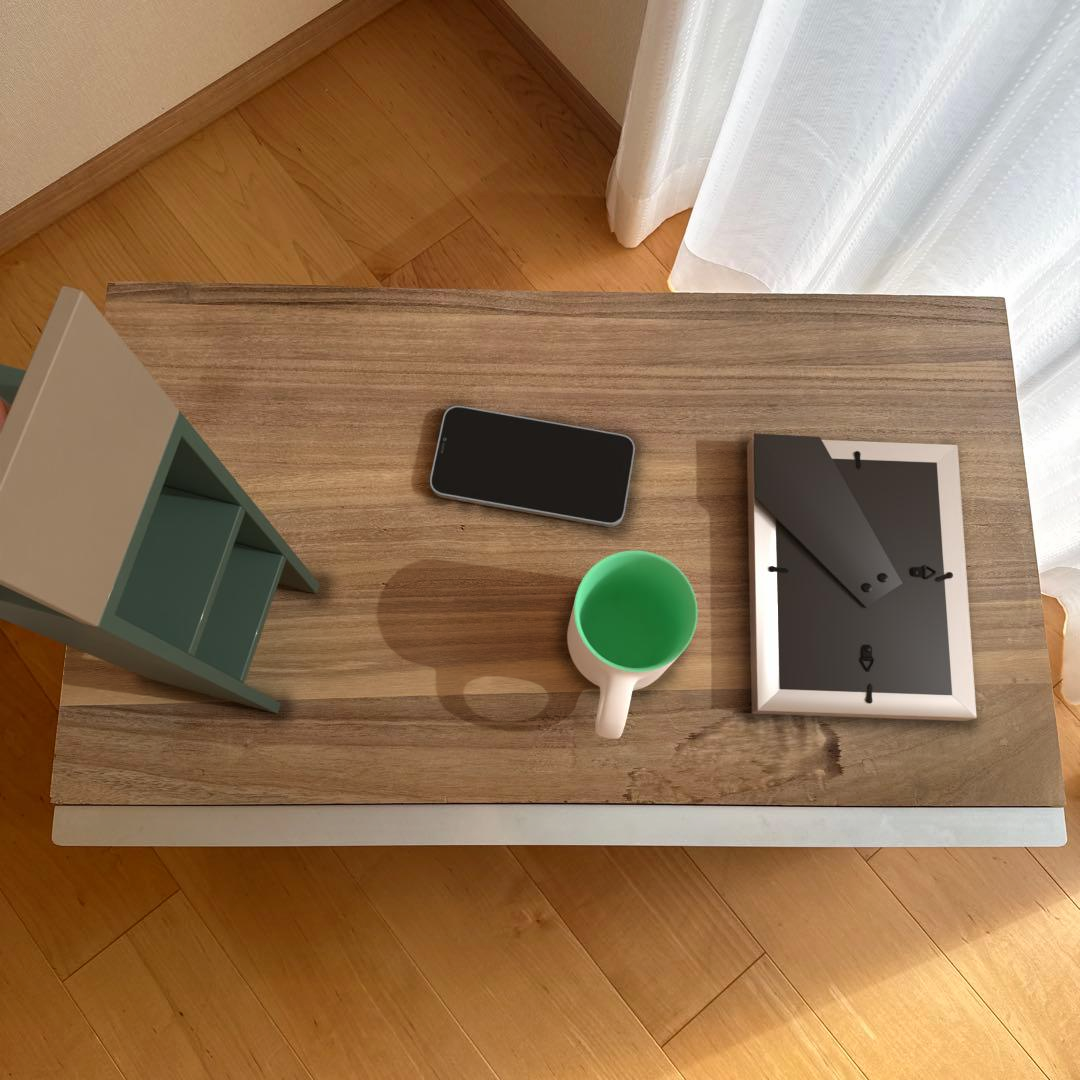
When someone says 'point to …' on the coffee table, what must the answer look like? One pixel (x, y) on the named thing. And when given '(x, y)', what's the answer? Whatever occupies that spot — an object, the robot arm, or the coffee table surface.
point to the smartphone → (533, 466)
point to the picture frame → (858, 580)
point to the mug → (629, 628)
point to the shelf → (129, 519)
